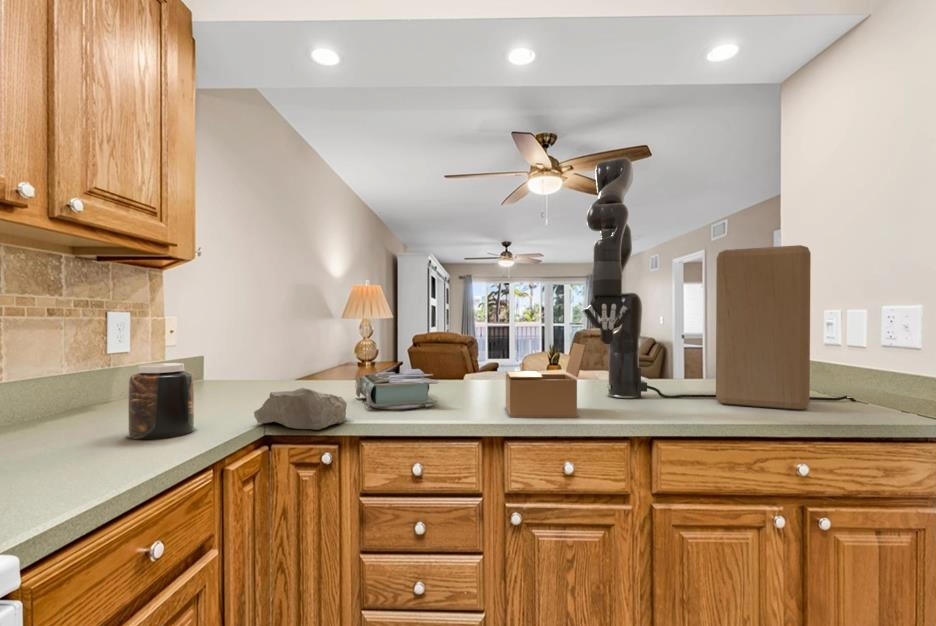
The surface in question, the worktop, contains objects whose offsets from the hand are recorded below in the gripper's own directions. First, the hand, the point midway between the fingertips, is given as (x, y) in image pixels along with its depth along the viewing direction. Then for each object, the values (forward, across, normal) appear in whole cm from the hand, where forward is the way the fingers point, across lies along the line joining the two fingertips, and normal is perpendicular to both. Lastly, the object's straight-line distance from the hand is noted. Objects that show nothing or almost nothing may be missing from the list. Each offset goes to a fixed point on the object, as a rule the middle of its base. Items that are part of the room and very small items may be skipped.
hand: (606, 343), depth 129 cm
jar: (+19, +104, +24) cm, 108 cm away
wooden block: (+18, -50, -15) cm, 56 cm away
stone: (+19, +77, +14) cm, 80 cm away
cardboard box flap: (+4, +8, 0) cm, 9 cm away
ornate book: (+19, +58, -15) cm, 63 cm away
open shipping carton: (+18, +18, 0) cm, 26 cm away
